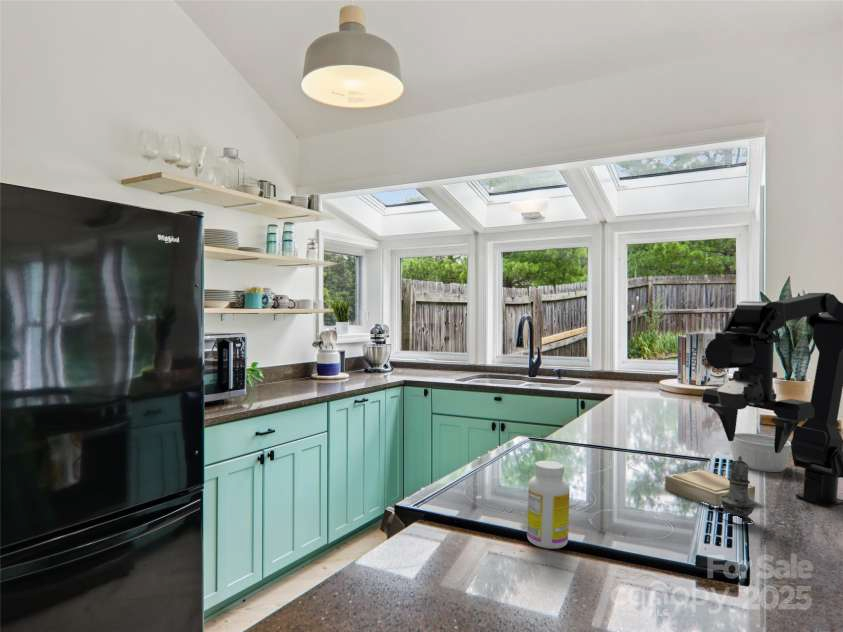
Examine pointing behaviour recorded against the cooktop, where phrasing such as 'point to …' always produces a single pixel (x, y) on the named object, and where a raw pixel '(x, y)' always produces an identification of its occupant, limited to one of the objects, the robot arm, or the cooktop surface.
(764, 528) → the cooktop surface
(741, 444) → the ramekin
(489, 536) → the cooktop surface
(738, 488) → the salt shaker
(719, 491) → the soap dish
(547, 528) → the supplement bottle
